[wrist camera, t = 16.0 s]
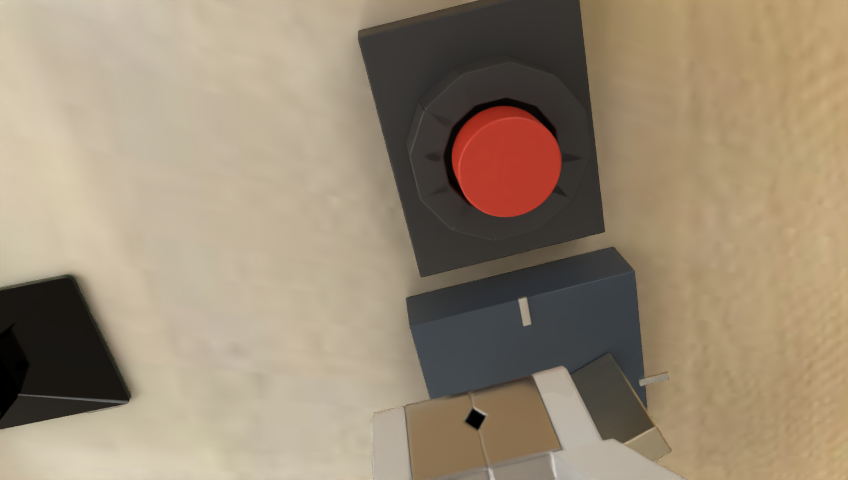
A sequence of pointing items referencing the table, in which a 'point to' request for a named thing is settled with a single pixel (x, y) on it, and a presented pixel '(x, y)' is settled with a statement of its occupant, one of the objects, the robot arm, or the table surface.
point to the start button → (506, 161)
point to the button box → (470, 94)
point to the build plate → (53, 354)
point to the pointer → (618, 408)
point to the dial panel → (531, 324)
